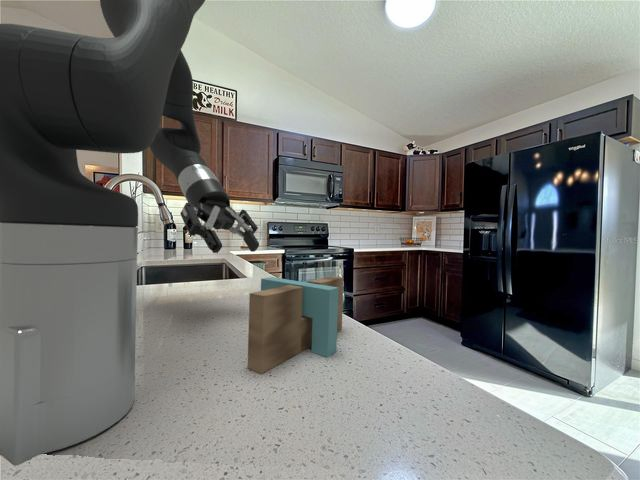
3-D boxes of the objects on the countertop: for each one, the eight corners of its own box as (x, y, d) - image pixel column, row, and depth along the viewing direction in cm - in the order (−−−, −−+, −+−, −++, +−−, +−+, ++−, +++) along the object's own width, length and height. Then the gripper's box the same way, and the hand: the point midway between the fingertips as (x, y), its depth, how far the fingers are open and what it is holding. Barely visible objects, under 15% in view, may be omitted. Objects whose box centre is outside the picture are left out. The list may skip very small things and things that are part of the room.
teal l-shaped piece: (259, 335, 46) (261, 278, 45) (269, 330, 48) (271, 277, 48) (327, 357, 38) (329, 290, 38) (336, 351, 40) (338, 287, 40)
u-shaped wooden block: (261, 374, 33) (263, 296, 33) (247, 367, 34) (249, 293, 34) (341, 329, 50) (343, 277, 49) (330, 326, 51) (331, 276, 51)
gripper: (177, 170, 49) (213, 234, 43) (239, 183, 61) (275, 236, 55) (161, 200, 52) (193, 265, 46) (224, 208, 64) (256, 260, 58)
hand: (238, 249), depth 51 cm, fingers open, 8 cm apart
